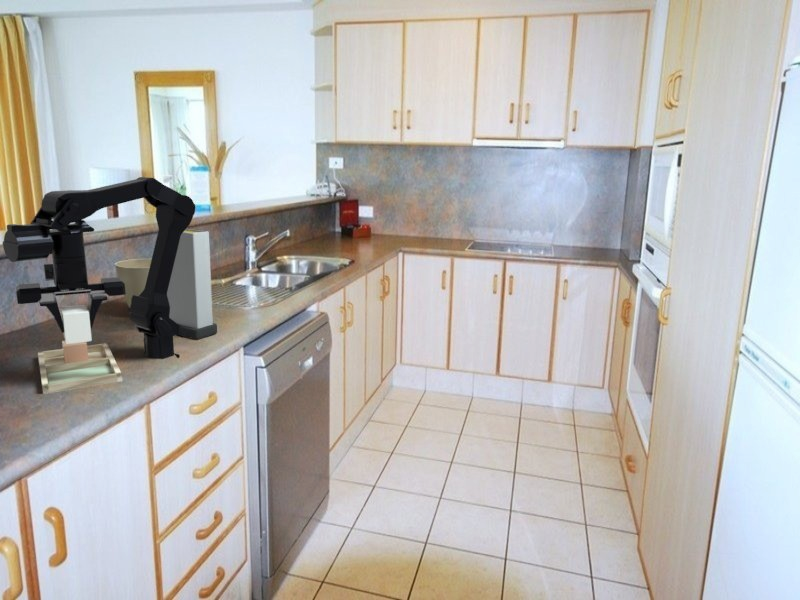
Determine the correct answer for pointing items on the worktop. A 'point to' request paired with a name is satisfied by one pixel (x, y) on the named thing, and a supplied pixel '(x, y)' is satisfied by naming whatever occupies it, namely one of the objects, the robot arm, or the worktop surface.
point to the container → (192, 286)
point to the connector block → (76, 324)
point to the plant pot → (133, 276)
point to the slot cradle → (78, 369)
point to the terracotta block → (75, 352)
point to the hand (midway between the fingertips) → (76, 330)
